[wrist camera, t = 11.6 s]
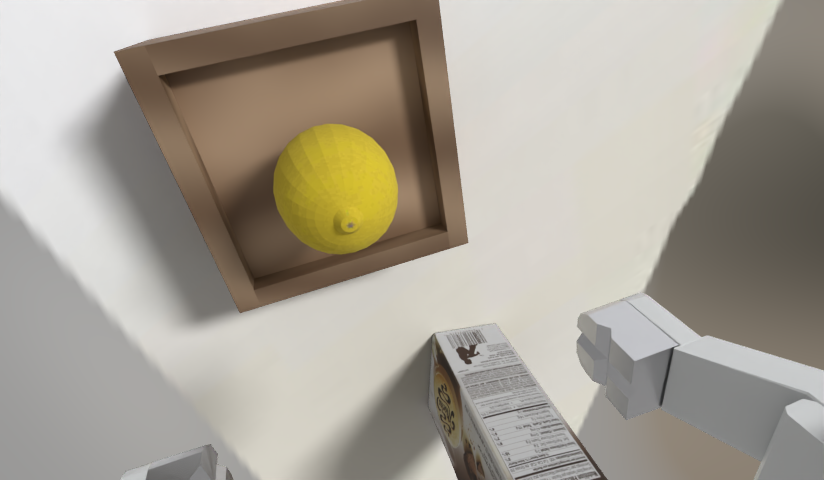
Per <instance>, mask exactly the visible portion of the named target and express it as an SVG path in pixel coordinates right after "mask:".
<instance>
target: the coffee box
mask: <svg viewBox="0 0 824 480" xmlns="http://www.w3.org/2000/svg"><path fill="white" fill-rule="evenodd" d="M428 407H429V410H430V412H431V414H432V417H433V419H434V422H435V424H436V427H437V429H438V431H439V434H440V436H441V439H442V441H443V444H444V446H445V448H446V451H447V453H448V456H449V458H450V461H451V463H452V466H453V468H454V470H455V473H456V476H457V478H458V480H607V478H606V477H605V476H604V474H603V473H602V472H601V470H600V469H599V467H598V466H597V464H596V463H595V462H594V460H593V459H592V457H591V456H590V455H589V453H588V452H587V450H586V449H585V448H584V446H583V445H582V443H581V442H580V440H579V439H578V438H577V436H576V435H575V434H574V432H573V431H572V429H571V428H570V427H569V425H568V424H567V422H566V421H565V420H564V418H563V417H562V415H561V414H560V413H559V411H558V410H557V408H556V407H555V406H554V404H553V403H552V401H551V400H550V399H549V397H548V396H547V394H546V393H545V392H544V390H543V389H542V387H541V386H540V385H539V383H538V382H537V380H536V379H535V378H534V376H533V375H532V373H531V372H530V370H529V369H528V368H527V366H526V365H525V363H524V362H523V361H522V359H521V358H520V356H519V355H518V354H517V352H516V351H515V349H514V348H513V347H512V345H511V344H510V342H509V341H508V339H507V338H506V337H505V336H504V334H503V333H502V331H501V330H500V328H499V327H498V326H497V324H488V325H482V326H476V327H469V328H463V329H457V330H451V331H445V332H438V333H435V334H433V337H432V352H431V369H430V385H429V401H428Z"/></svg>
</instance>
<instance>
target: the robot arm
mask: <svg viewBox="0 0 824 480" xmlns="http://www.w3.org/2000/svg"><path fill="white" fill-rule="evenodd" d="M577 327H578V328H579V329H580V330H581V331H582V334H581V336H580V337H579V339H578V340H577V354H578V357H579V360H580V363H581V365H582V367H583V369H584V370H585V372H586V373H587V374H588V376H589V377H590V378H591V379H592V381H594V382H597V383H599V384H602V385H604V386H605V394H606V397H607V398H608V399H609V401H610V402H611V403H612V404H613V405H614V407H615V408H616V409H617V410H618V411H619V412H620V414H621V415H622V416H623V417H624V418H625V419H626V420H628V419H630V418H633V417H636V416H638V415H641V414H644V413H647V412H650V411H652V410H655V409H658V408H660V407H662V408H661V409H662V410H663V411H665V412H667V413H669V414H671V415H673V416H675V417H677V418H679V419H680V420H682V421H684V422H686V423H688V424H690V425H692V426H694V427H696V428H698V429H700V430H702V431H703V432H705V433H707V434H709V435H711V436H713V437H715V438H717V439H719V440H720V441H723V442H724V443H726V444H728V445H730V446H732V447H734V448H736V449H738V450H740V451H742V452H743V453H745V454H747V455H749V456H751V457H753V458H755V459H757V460H759V461H761V464H760V466H759V469H758V471H757V473H756V475H755V478H754V480H824V371H823V370H820V369H817V368H813V367H810V366H806V365H803V364H800V363H797V362H794V361H790V360H787V359H784V358H780V357H777V356H774V355H770V354H767V353H764V352H760V351H757V350H754V349H751V348H747V347H744V346H741V345H737V344H734V343H731V342H727V341H724V340H721V339H717V338H714V337H711V336H704V337H700V336H699V335H698V334H696V333H695V332H694V331H693V330H691V329H690V328H689V327H687V326H686V325H685V324H684V323H682V322H681V321H680V320H678V319H677V318H676V317H675V316H673V315H672V314H671V313H670V312H668V311H667V310H666V309H664V308H663V307H662V306H661V305H659V304H658V303H657V302H656V301H654V300H653V299H652V298H651V297H649V296H648V295H646V294H643V293H638V294H635V295H632V296H629V297H626V298H623V299H621V300H617V301H614V302H611V303H609V304H606V305H603V306H600V307H598V308H595V309H592V310H589V311H587V312H584V313H581V314H580V316H579V317H578V324H577ZM217 456H218V454H217V452H216V451H215V450H214V448H213V447H212V446H211V444H210V445H204V446H202V447H198V448H195V449H192V450H189V451H186V452H183V453H179V454H176V455H173V456H170V457H167V458H164V459H161V460H158V461H155V462H153V463H149V464H146V465H143V466H140V467H138V468H134V469H131V470H128V471H126V472H125V473H124V475H123V476H122V478H121V479H120V480H233V478H232V475H231V473H230V471H229V470H228V468H227V467H225V466H222V465H219V464H217Z"/></svg>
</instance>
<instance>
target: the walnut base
mask: <svg viewBox="0 0 824 480" xmlns="http://www.w3.org/2000/svg"><path fill="white" fill-rule="evenodd" d="M114 53H115V56H116V58H117V60H118V62H119V64H120V66H121V68H122V70H123V72H124V74H125V76H126V78H127V80H128V82H129V84H130V87H131V89H132V91H133V93H134V95H135V97H136V99H137V101H138V103H139V105H140V107H141V109H142V111H143V113H144V116H145V118H146V120H147V122H148V124H149V126H150V128H151V130H152V132H153V134H154V136H155V138H156V140H157V142H158V144H159V147H160V149H161V151H162V153H163V155H164V157H165V159H166V161H167V163H168V165H169V167H170V169H171V171H172V173H173V175H174V178H175V180H176V182H177V184H178V186H179V188H180V190H181V192H182V194H183V196H184V198H185V200H186V202H187V204H188V207H189V209H190V211H191V213H192V215H193V217H194V219H195V221H196V223H197V225H198V227H199V229H200V231H201V233H202V235H203V238H204V240H205V242H206V244H207V246H208V248H209V250H210V252H211V254H212V256H213V258H214V260H215V262H216V264H217V266H218V269H219V271H220V273H221V275H222V277H223V279H224V281H225V283H226V285H227V287H228V289H229V291H230V293H231V295H232V298H233V300H234V302H235V304H236V306H237V308H238V310H239V312H240V313H242V312H245V311H249V310H252V309H255V308H258V307H262V306H265V305H268V304H271V303H275V302H278V301H281V300H284V299H288V298H291V297H294V296H297V295H301V294H304V293H307V292H310V291H314V290H317V289H320V288H323V287H327V286H330V285H333V284H336V283H340V282H343V281H346V280H349V279H353V278H356V277H359V276H362V275H366V274H369V273H372V272H375V271H379V270H382V269H385V268H388V267H392V266H395V265H398V264H401V263H405V262H408V261H411V260H414V259H417V258H421V257H424V256H427V255H430V254H434V253H437V252H440V251H443V250H447V249H450V248H453V247H456V246H460V245H463V244H466V243H468V237H467V229H466V220H465V212H464V204H463V196H462V188H461V179H460V171H459V163H458V155H457V147H456V138H455V130H454V122H453V114H452V105H451V97H450V89H449V81H448V73H447V64H446V56H445V48H444V40H443V32H442V23H441V15H440V7H439V0H341V1H336V2H332V3H327V4H322V5H317V6H312V7H307V8H302V9H297V10H292V11H288V12H283V13H278V14H273V15H268V16H263V17H258V18H253V19H248V20H244V21H239V22H234V23H229V24H224V25H219V26H214V27H209V28H204V29H200V30H195V31H190V32H185V33H180V34H175V35H170V36H165V37H160V38H156V39H151V40H147V41H144V42H141V43H138V44H135V45H132V46H129V47H126V48H124V49H121V50H118V51H115V52H114ZM323 124H343V125H346V126H349V127H353V128H356V129H358V130H360V131H362V132H363V133H365V134H367V135H368V136H370V137H371V138H373V139H374V140H375V141H376V142H377V143H378V145H379V146H380V147H381V148H382V149H383V150H384V151H385V153H386V154H387V156H388V158H389V160H390V162H391V164H392V166H393V168H394V171H395V175H396V180H397V184H398V203H397V208H396V211H395V215H394V218H393V221H392V222H391V224H390V226H389V227H388V229H387V231H386V232H385V233H384V234H383V235H382V236H381V237H380V238H379V239H378V240H377V241H376V242H374V243H373V244H371V245H370V246H368V247H367V248H365V249H362V250H359V251H357V252H354V253H348V254H328V253H325V252H321V251H318V250H315V249H313V248H311V247H310V246H308V245H306V244H305V243H303V242H301V241H300V240H299V239H298V238H297V237H296V236H295V235H294V234H293V233H292V232H291V231H290V230H289V228H288V227H287V226H286V224H285V222H284V220H283V219H282V217H281V215H280V213H279V212H278V209H277V205H276V201H275V197H274V193H273V184H274V171H275V168H276V165H277V162H278V159H279V156H280V155H281V153H282V152H283V150H284V149H285V147H286V146H287V144H288V143H289V142H290V141H291V140H292V139H294V138H295V137H296V136H297V135H298V134H299V133H301V132H303V131H305V130H307V129H309V128H311V127H314V126H319V125H323Z"/></svg>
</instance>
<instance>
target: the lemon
mask: <svg viewBox="0 0 824 480" xmlns="http://www.w3.org/2000/svg"><path fill="white" fill-rule="evenodd" d="M273 193H274V197H275V201H276V205H277V209H278V212H279V213H280V215H281V217H282V219H283V220H284V222H285V224H286V226H287V227H288V228H289V230H290V231H291V232H292V233H293V234H294V235H295V236H296V237H297V238H298V239H299V240H300V241H301V242H303V243H305V244H306V245H308V246H310V247H311V248H313V249H315V250H318V251H321V252H325V253H328V254H348V253H354V252H357V251H359V250H362V249H365V248H367V247H368V246H370V245H371V244H373V243H374V242H376V241H377V240H378V239H379V238H380V237H381V236H382V235H383V234H384V233H385V232H386V231H387V229H388V227H389V226H390V224H391V222H392V221H393V218H394V215H395V211H396V208H397V203H398V184H397V180H396V175H395V171H394V168H393V166H392V164H391V162H390V160H389V158H388V156H387V154H386V153H385V151H384V150H383V149H382V148H381V147H380V146H379V145H378V143H377V142H376V141H375V140H374V139H373V138H371V137H370V136H368V135H367V134H365V133H363V132H362V131H360V130H358V129H356V128H353V127H349V126H346V125H343V124H323V125H319V126H314V127H311V128H309V129H307V130H305V131H303V132H301V133H299V134H298V135H297V136H296V137H295V138H294V139H292V140H291V141H290V142H289V143H288V144H287V146H286V147H285V149H284V150H283V152H282V153H281V155H280V156H279V159H278V162H277V165H276V168H275V171H274V184H273Z"/></svg>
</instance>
